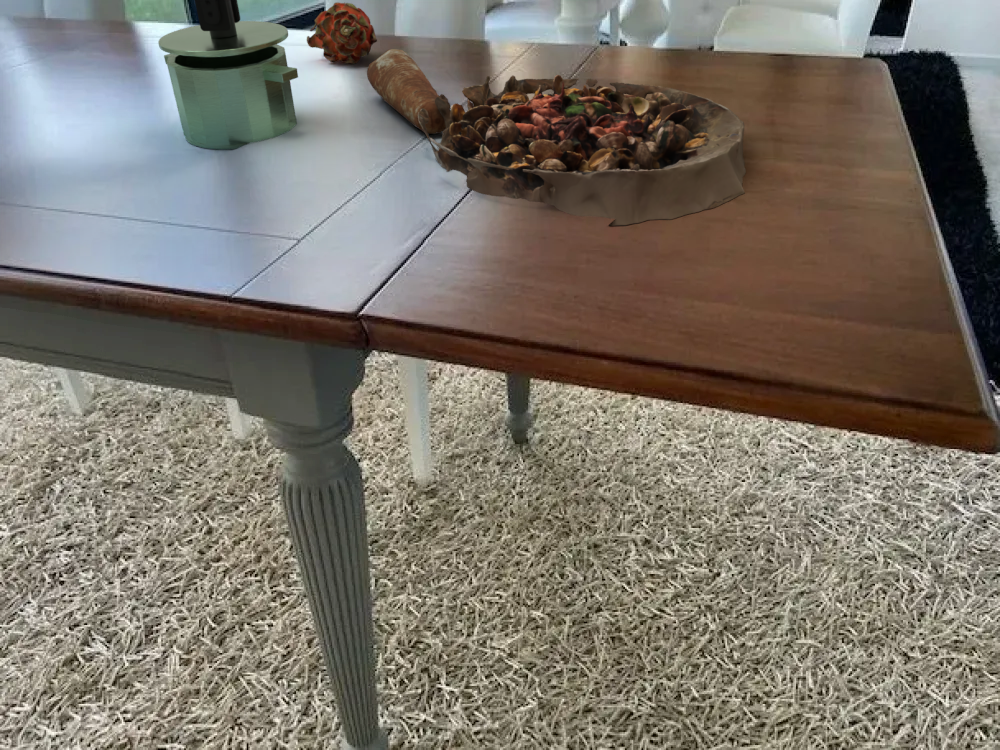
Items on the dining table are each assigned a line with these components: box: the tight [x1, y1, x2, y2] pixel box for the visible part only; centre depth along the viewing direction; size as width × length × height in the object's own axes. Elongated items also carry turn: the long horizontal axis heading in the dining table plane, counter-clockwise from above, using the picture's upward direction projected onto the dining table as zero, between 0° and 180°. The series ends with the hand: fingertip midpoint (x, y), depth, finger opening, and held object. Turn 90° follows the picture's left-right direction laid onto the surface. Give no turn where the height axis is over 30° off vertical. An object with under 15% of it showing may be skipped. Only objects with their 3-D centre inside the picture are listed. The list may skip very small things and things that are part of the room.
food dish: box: [418, 74, 747, 227], centre depth 87 cm, size 35×33×8 cm
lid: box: [157, 0, 289, 57], centre depth 92 cm, size 14×14×6 cm
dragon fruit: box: [306, 1, 378, 65], centre depth 122 cm, size 8×8×12 cm
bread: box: [366, 48, 446, 135], centre depth 101 cm, size 6×19×6 cm, turn 19°
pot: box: [163, 44, 299, 150], centre depth 96 cm, size 13×18×8 cm
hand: (221, 24), depth 92 cm, fingers closed on lid, 2 cm apart
